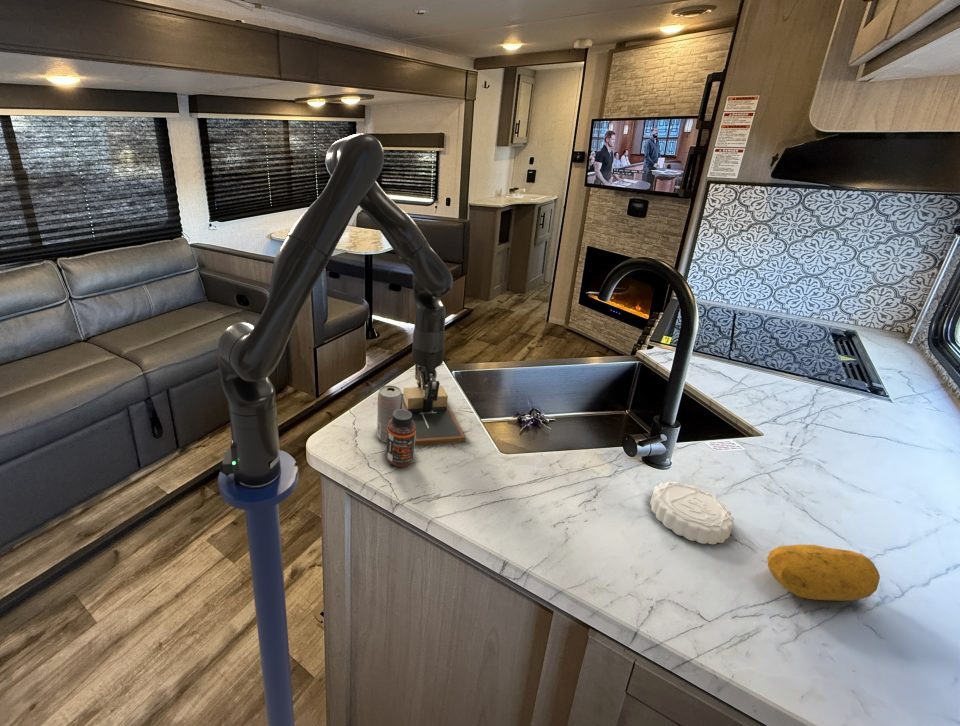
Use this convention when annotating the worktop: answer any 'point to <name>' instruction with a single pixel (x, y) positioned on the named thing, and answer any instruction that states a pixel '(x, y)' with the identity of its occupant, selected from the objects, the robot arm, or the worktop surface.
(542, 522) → the worktop surface
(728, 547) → the worktop surface
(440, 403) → the eraser
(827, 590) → the potato
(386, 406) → the energy drink
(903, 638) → the worktop surface
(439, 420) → the chalkboard
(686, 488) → the mooncake
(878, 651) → the worktop surface
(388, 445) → the supplement bottle
